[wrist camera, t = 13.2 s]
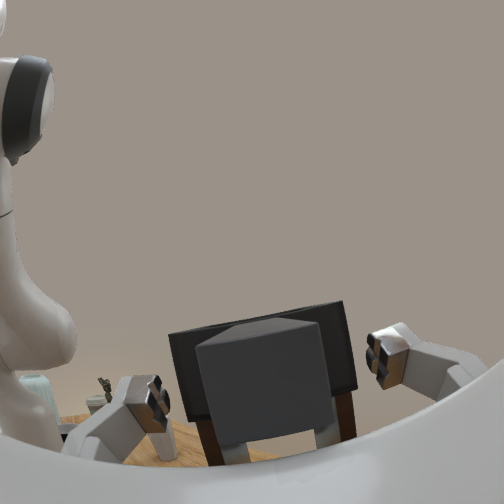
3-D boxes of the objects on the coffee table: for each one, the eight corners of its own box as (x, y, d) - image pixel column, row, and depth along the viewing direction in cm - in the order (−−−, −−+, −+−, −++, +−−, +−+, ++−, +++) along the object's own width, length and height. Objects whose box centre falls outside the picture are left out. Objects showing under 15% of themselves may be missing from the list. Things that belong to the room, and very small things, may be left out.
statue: (133, 435, 64) (117, 376, 69) (115, 438, 61) (97, 379, 65) (130, 431, 68) (115, 374, 72) (113, 434, 64) (97, 377, 69)
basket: (215, 379, 27) (204, 326, 29) (316, 359, 28) (305, 306, 29) (114, 527, 4) (47, 352, 5) (469, 457, 4) (462, 272, 6)
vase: (65, 449, 47) (43, 378, 52) (33, 449, 41) (10, 378, 46) (70, 437, 56) (51, 373, 61) (40, 437, 51) (22, 373, 56)
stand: (250, 495, 33) (216, 360, 39) (331, 479, 33) (308, 342, 39) (248, 563, 15) (187, 392, 21) (361, 540, 16) (346, 360, 22)
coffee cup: (121, 427, 71) (112, 395, 74) (106, 434, 63) (96, 401, 66) (104, 424, 73) (96, 394, 75) (89, 431, 64) (80, 399, 67)
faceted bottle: (179, 450, 55) (158, 373, 59) (182, 460, 49) (158, 377, 54) (156, 453, 52) (133, 376, 57) (156, 463, 47) (131, 381, 51)
